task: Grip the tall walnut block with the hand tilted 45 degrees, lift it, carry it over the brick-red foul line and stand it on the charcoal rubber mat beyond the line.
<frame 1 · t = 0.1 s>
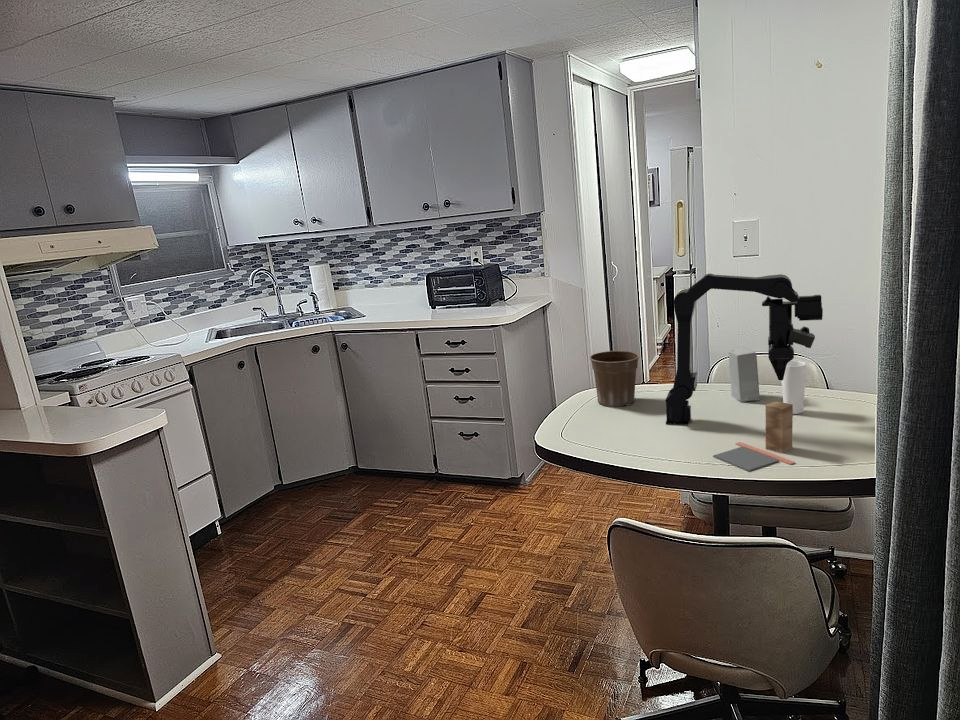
hand: (780, 375, 187), 15 cm above the table, tool pointing down, fingers open, 9 cm apart
skincare box: (744, 398, 217), on the table
drinking glass: (793, 412, 200), on the table
walnut block: (778, 448, 174), on the table
foul line: (763, 453, 172), on the table
mat: (745, 459, 170), on the table
plant pot: (616, 402, 226), on the table
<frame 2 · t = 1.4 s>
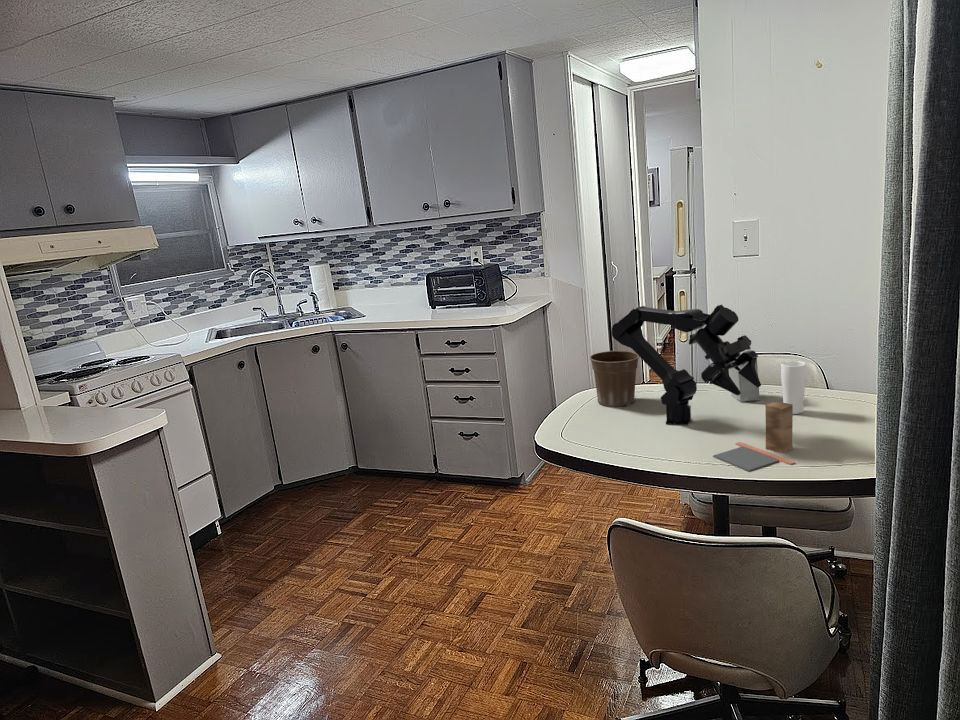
hand: (749, 390, 179), 14 cm above the table, tool tilted 45°, fingers open, 9 cm apart
nothing on the table moved.
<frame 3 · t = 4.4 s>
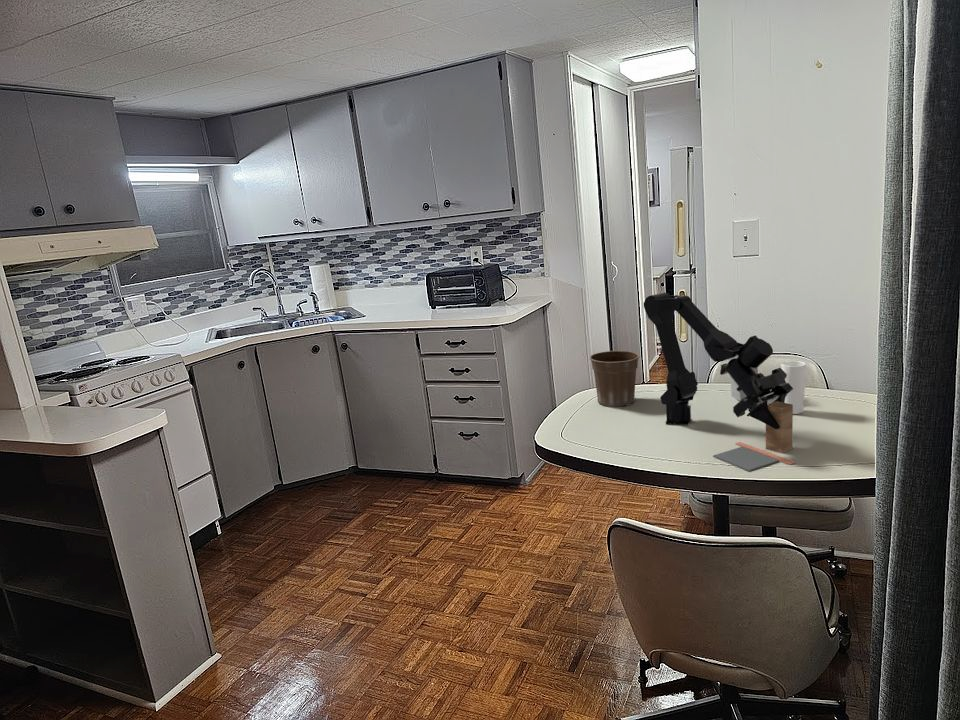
hand: (783, 425, 172), 7 cm above the table, tool tilted 45°, fingers closed on walnut block, 5 cm apart
walnut block: (778, 448, 174), on the table, touching gripper
everything else where it was.
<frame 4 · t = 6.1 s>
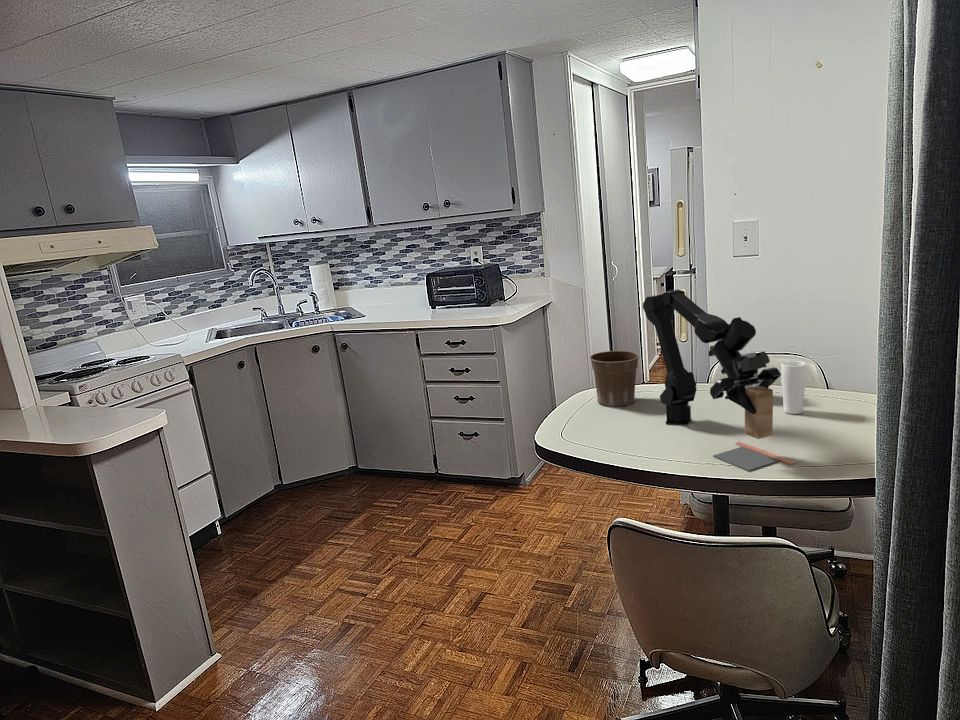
hand: (762, 411, 167), 12 cm above the table, tool tilted 45°, fingers closed on walnut block, 5 cm apart
walnut block: (758, 434, 170), point 6 cm above the table, touching gripper
everything else where it was.
when the fingers open (8 cm above the table, at t = 7.8 s): walnut block stays where it is, resting on mat.
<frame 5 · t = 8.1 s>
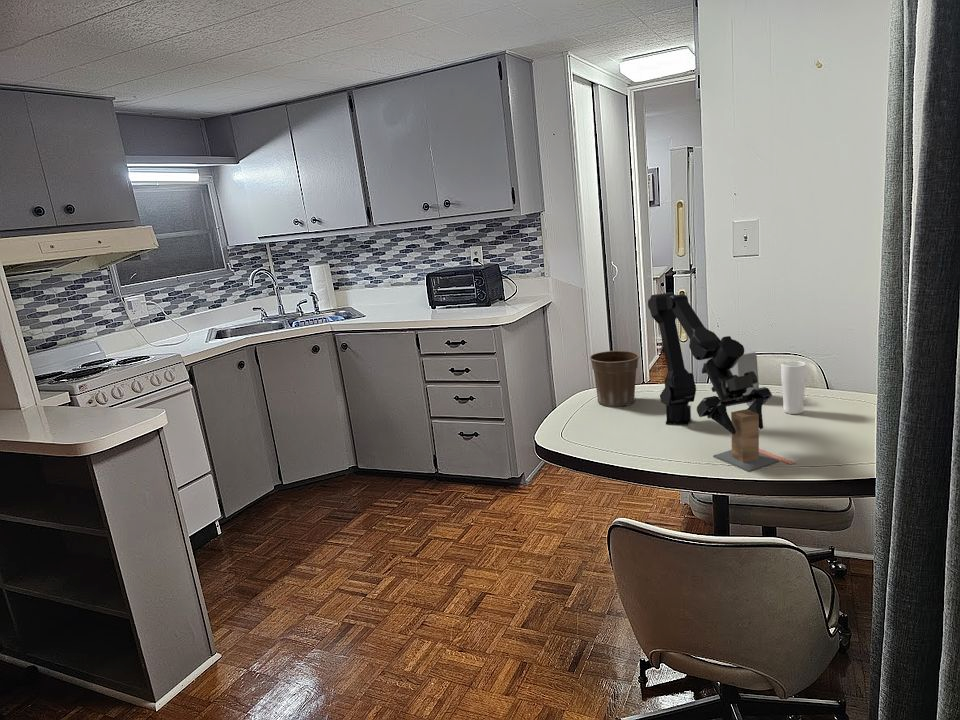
hand: (748, 431, 167), 8 cm above the table, tool tilted 45°, fingers open, 7 cm apart
walnut block: (745, 457, 170), resting on mat
everything else where it was.
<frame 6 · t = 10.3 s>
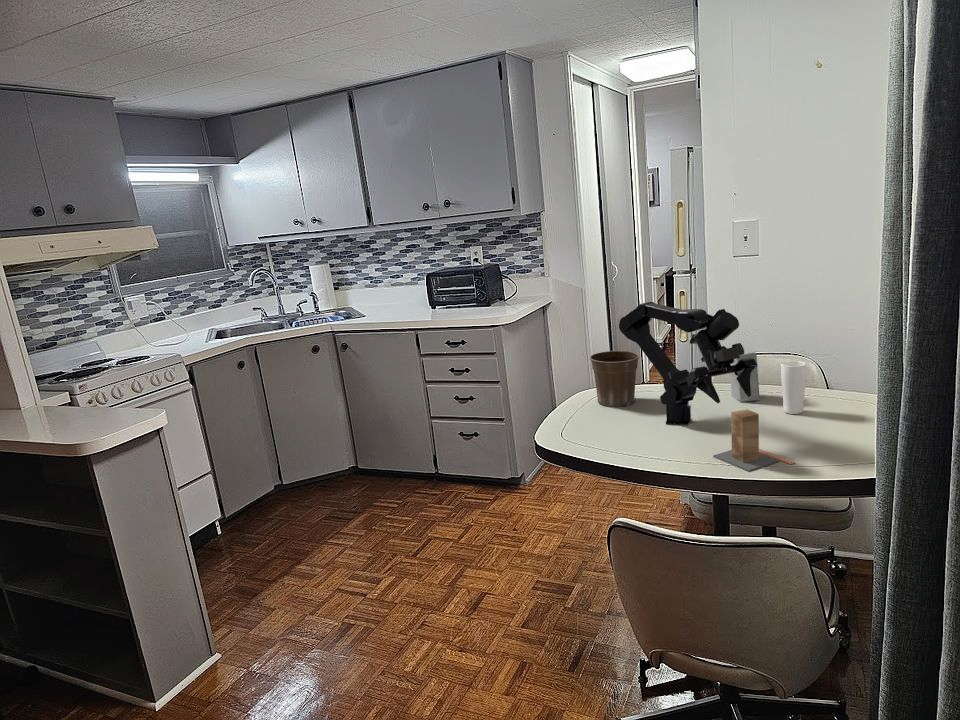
hand: (734, 399, 177), 13 cm above the table, tool tilted 40°, fingers open, 9 cm apart
nothing on the table moved.
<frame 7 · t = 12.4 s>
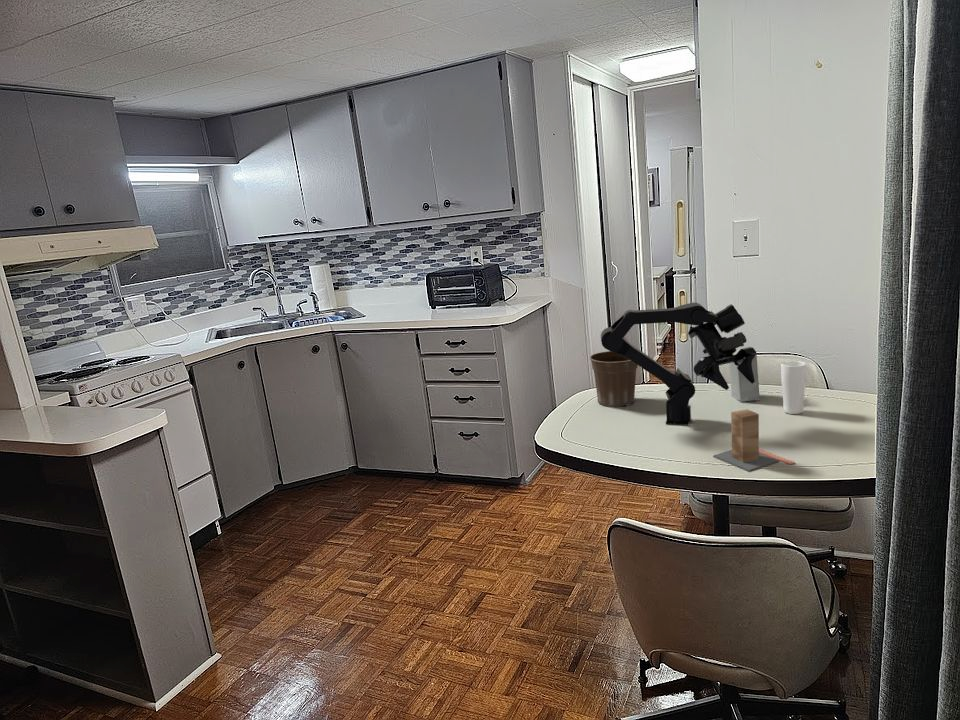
hand: (740, 385, 185), 14 cm above the table, tool tilted 45°, fingers open, 9 cm apart
nothing on the table moved.
at the end: walnut block inside the target area on the mat (0.0 cm from its centre), point 0.4 cm above the mat's base; walnut block tilted 0°; the gripper is holding nothing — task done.
